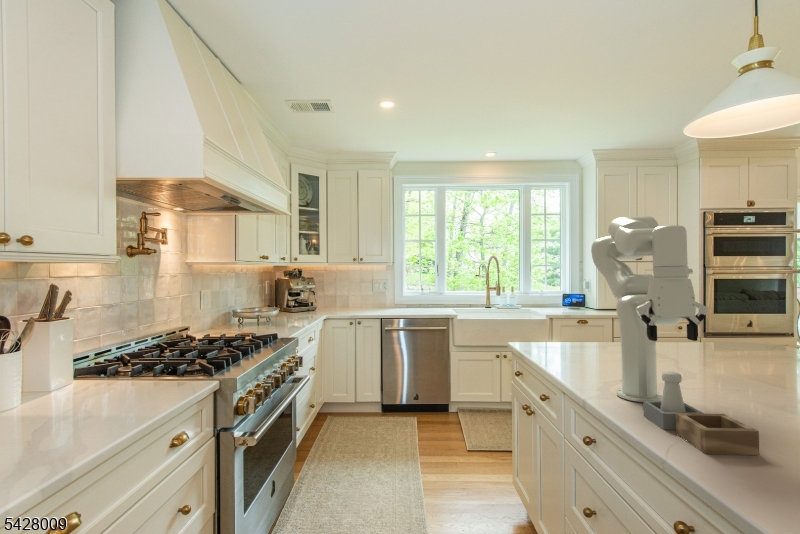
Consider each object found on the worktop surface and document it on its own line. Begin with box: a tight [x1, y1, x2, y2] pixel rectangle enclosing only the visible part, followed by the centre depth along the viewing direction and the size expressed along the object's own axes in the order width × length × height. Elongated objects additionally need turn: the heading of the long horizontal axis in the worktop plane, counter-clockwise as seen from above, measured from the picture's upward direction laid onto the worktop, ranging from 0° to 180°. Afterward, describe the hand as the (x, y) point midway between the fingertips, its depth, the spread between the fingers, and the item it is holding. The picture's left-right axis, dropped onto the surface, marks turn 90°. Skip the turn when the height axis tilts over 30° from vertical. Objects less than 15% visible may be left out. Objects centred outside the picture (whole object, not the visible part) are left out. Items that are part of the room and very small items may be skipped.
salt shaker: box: [660, 370, 686, 412], centre depth 106 cm, size 6×6×13 cm
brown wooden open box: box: [675, 413, 761, 456], centre depth 93 cm, size 11×11×5 cm
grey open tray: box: [642, 401, 705, 430], centre depth 106 cm, size 10×10×4 cm
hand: (672, 340), depth 106 cm, fingers open, 9 cm apart
